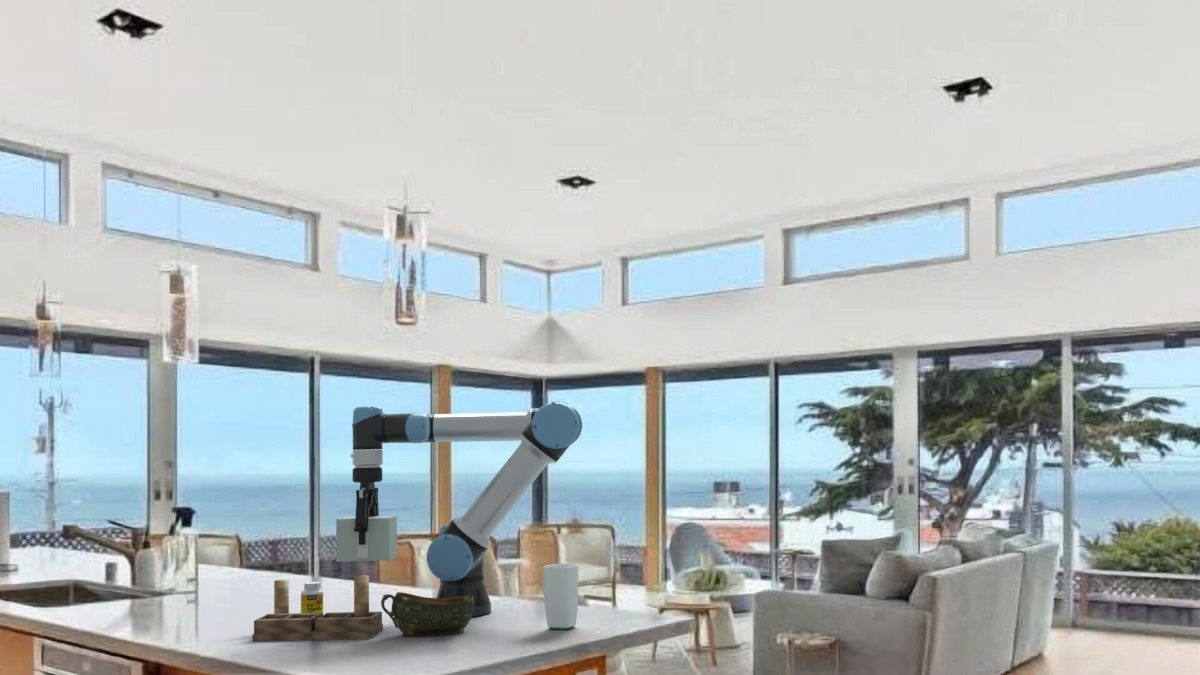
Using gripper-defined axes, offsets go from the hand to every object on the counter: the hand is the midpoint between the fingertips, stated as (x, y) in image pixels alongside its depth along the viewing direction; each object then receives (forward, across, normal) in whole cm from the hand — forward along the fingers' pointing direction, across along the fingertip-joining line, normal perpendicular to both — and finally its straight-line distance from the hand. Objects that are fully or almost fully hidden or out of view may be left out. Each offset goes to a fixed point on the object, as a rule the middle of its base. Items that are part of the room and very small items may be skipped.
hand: (367, 555), depth 276 cm
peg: (+17, +7, -20) cm, 27 cm away
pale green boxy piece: (+1, 0, 0) cm, 1 cm away
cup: (+17, +13, +50) cm, 55 cm away
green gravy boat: (+17, +17, +19) cm, 31 cm away
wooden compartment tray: (+17, +16, -8) cm, 25 cm away
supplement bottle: (+17, -2, -15) cm, 23 cm away
